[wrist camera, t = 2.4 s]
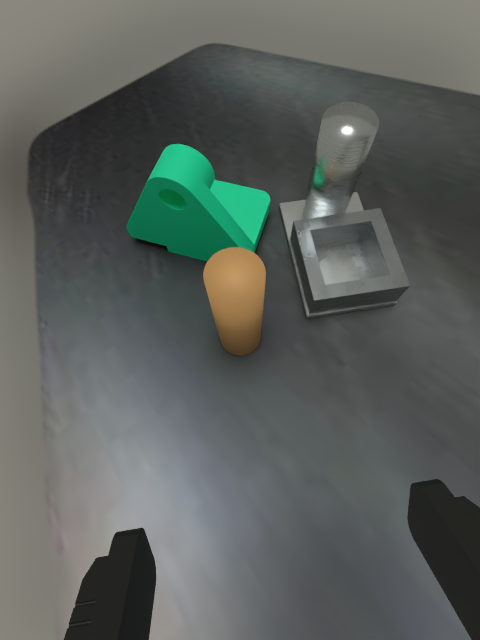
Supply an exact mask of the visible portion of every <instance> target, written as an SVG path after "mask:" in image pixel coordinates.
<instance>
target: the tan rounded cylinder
mask: <svg viewBox="0 0 480 640" xmlns="http://www.w3.org/2000/svg"><path fill="white" fill-rule="evenodd" d="M203 277H204V283H205V286H206V290H207V294H208V297H209V301H210V305H211V308H212V312H213V316H214V319H215V323H216V327H217V330H218V334H219V338H220V341H221V344H222V346H223V348H224V349H225V350H226V351H227V352H229V353H230V354H233V355H236V356H244V355H248V354H250V353H252V352H253V351H254V350H255V349H256V348H257V347H258V345H259V343H260V340H261V330H262V317H263V304H264V292H265V279H266V270H265V266H264V264H263V262H262V260H261V259H260V258H259V256H257V255H256V254H255V253H254V252H252V251H250V250H248V249H245V248H240V247H231V248H226V249H223V250H220V251H218V252H217V253H215V254H214V255H213V256H212V257H211V258H210V259H209V260H208V262H207V263H206V265H205V268H204V273H203Z"/></svg>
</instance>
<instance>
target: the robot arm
mask: <svg viewBox="0 0 480 640" xmlns="http://www.w3.org/2000/svg"><path fill="white" fill-rule="evenodd" d="M408 525H409V528H410V531H411V534H412V536H413V539H414V541H415V542H416V544H417V546H418V548H419V549H420V551H421V553H422V555H423V556H424V558H425V560H426V561H427V563H428V565H429V567H430V568H431V570H432V572H433V574H434V575H435V577H436V579H437V581H438V582H439V584H440V586H441V587H442V589H443V591H444V593H445V594H446V596H447V598H448V600H449V601H450V603H451V605H452V606H453V608H454V610H455V612H456V613H457V615H458V617H459V619H460V620H461V622H462V624H463V626H464V627H465V629H466V631H467V632H468V634H469V636H470V638H471V639H472V640H480V508H479V507H478V506H477V505H475V504H474V503H472V502H471V501H470V500H468V499H467V498H466V497H464V496H461V497H454V496H453V494H452V493H451V492H450V491H449V489H448V488H447V487H446V486H445V484H444V483H443V482H442V481H440V480H438V479H435V480H429V481H423V482H417V483H412V484H411V488H410V497H409V507H408ZM155 586H156V566H155V560H154V557H153V554H152V551H151V548H150V545H149V542H148V539H147V536H146V533H145V531H144V529H143V528H138V529H132V530H126V531H120V532H116V533H115V535H114V537H113V540H112V544H111V547H110V551H109V555H108V556H104V557H98V558H96V559H95V561H94V562H93V564H92V566H91V567H90V569H89V570H88V572H87V573H86V575H85V576H84V578H83V580H82V583H81V586H80V590H79V593H78V596H77V599H76V602H75V604H76V605H75V608H74V609H73V612H72V615H71V618H70V622H69V628H68V629H67V631H66V635H65V638H64V640H149V633H150V625H151V617H152V609H153V602H154V594H155Z"/></svg>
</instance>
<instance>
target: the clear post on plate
mask: <svg viewBox="0 0 480 640" xmlns="http://www.w3.org/2000/svg"><path fill="white" fill-rule="evenodd" d="M378 127H379V120H378V117H377V115H376V114H375V112H374V111H373V110H372V109H370V108H369V107H367V106H365V105H363V104H360V103H355V102H342V103H337V104H335V105H333V106H331V107H329V108H328V109H327V110H326V111H325V113H324V115H323V118H322V122H321V127H320V132H319V137H318V142H317V146H316V151H315V156H314V161H313V165H312V170H311V175H310V180H309V185H308V189H307V194H306V199H305V200H299V201H292V202H286V203H279V209H280V213H281V217H282V222H283V226H284V230H285V234H286V238H287V242H288V246H289V250H290V254H291V258H292V262H293V267H294V271H295V275H296V279H297V283H298V287H299V291H300V295H301V299H302V303H303V307H304V312H305V316H306V319H309V318H315V317H322V316H328V315H335V314H341V313H348V312H354V311H361V310H367V309H374V308H380V307H387V306H393V305H395V304H396V303H397V302H396V300H397V299H398V298H399V297H400V296H401V295H402V294H403V293H404V292H405V291H406V290H407V289H408V288H409V287H410V284H409V281H408V279H407V276H406V274H405V271H404V268H403V266H402V263H401V261H400V258H399V255H398V253H397V250H396V248H395V245H394V242H393V240H392V237H391V235H390V232H389V229H388V227H387V224H386V222H385V219H384V216H383V214H382V211H381V209H380V208H378V209H372V210H365V211H364V210H363V207H362V204H361V202H360V199H359V196H358V193H357V192H355V193H353V192H354V189H355V187H356V184H357V182H358V179H359V176H360V174H361V171H362V169H363V166H364V163H365V161H366V158H367V156H368V153H369V150H370V148H371V145H372V143H373V140H374V137H375V135H376V132H377V130H378Z"/></svg>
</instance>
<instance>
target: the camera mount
mask: <svg viewBox="0 0 480 640" xmlns="http://www.w3.org/2000/svg"><path fill="white" fill-rule="evenodd" d="M269 209H270V196H269V195H268V193H266V192H265V191H262V190H257V189H253V188H248V187H244V186H240V185H235V184H231V183H226V182H222V181H217V180H214V170H213V168H212V166H211V164H210V162H209V161H208V160H207V159H206V158H205V157H204V156H203V155H202V154H201V153H200V152H198V151H197V150H195V149H193V148H191V147H189V146H186V145H182V144H173V145H169V146H168V147H166V148H165V149H164V151H163V153H162V154H161V156H160V158H159V160H158V162H157V164H156V166H155V168H154V169H153V171H152V173H151V175H150V177H149V179H148V181H147V183H146V185H145V187H144V189H143V191H142V193H141V195H140V198H139V200H138V202H137V204H136V206H135V209H134V211H133V213H132V215H131V217H130V219H129V222H128V224H127V226H126V228H127V230H128V232H129V234H130V235H131V237H133V238H137V239H141V240H145V241H149V242H153V243H156V244H160V245H164V246H166V247H167V249H168V251H169V252H173V253H176V254H180V255H184V256H188V257H192V258H195V259H199V260H203V261H207V262H208V260H209V259H210V258H211V257H212V256H213V255H214V254H215V253H217V252H218V251H220V250H223V249H226V248H231V247H240V248H245V249H248V250H250V251H252V252H254V253H255V251H256V248H257V245H258V242H259V239H260V236H261V234H262V231H263V228H264V225H265V222H266V219H267V217H268V214H269Z"/></svg>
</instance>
